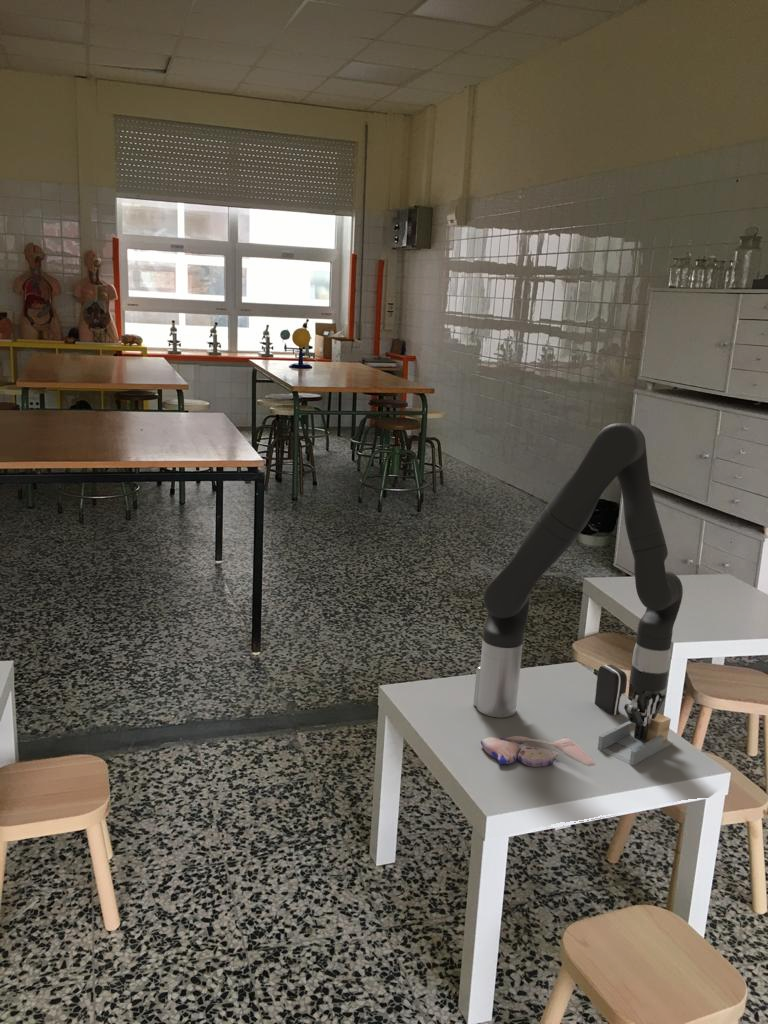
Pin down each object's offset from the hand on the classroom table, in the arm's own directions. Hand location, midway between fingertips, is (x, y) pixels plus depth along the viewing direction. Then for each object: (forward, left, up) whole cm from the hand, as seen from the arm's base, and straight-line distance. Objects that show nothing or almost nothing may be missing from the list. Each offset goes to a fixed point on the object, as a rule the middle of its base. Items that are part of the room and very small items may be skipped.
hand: (639, 738), depth 183 cm
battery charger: (-14, +10, -3) cm, 18 cm away
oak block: (0, +5, -1) cm, 5 cm away
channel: (0, -1, -3) cm, 3 cm away
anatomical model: (-11, -21, -3) cm, 24 cm away
